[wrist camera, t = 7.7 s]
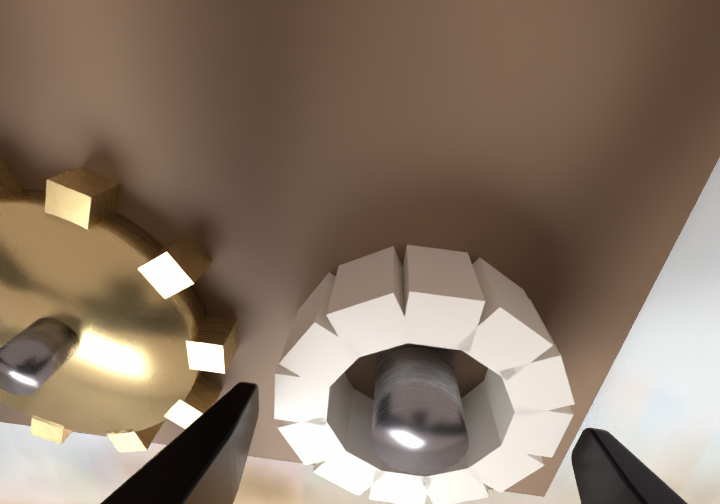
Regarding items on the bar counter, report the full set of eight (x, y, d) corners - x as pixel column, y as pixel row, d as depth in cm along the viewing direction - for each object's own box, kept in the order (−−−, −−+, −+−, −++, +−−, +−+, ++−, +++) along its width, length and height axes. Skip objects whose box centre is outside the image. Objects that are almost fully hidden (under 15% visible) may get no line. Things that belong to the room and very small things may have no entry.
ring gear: (291, 421, 12) (273, 485, 10) (298, 230, 9) (276, 273, 7) (501, 450, 12) (520, 520, 10) (577, 266, 9) (621, 319, 7)
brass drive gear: (-18, 402, 13) (-96, 469, 11) (-142, 139, 9) (-298, 165, 7) (242, 438, 13) (213, 513, 11) (230, 184, 9) (181, 225, 7)
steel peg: (372, 380, 11) (366, 466, 9) (381, 322, 10) (377, 402, 8) (444, 389, 11) (457, 479, 9) (459, 332, 10) (478, 415, 8)
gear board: (-20, 380, 15) (-61, 413, 13) (-400, -458, 6) (-611, -591, 5) (530, 454, 14) (544, 496, 13) (890, -342, 6) (1035, -456, 5)
